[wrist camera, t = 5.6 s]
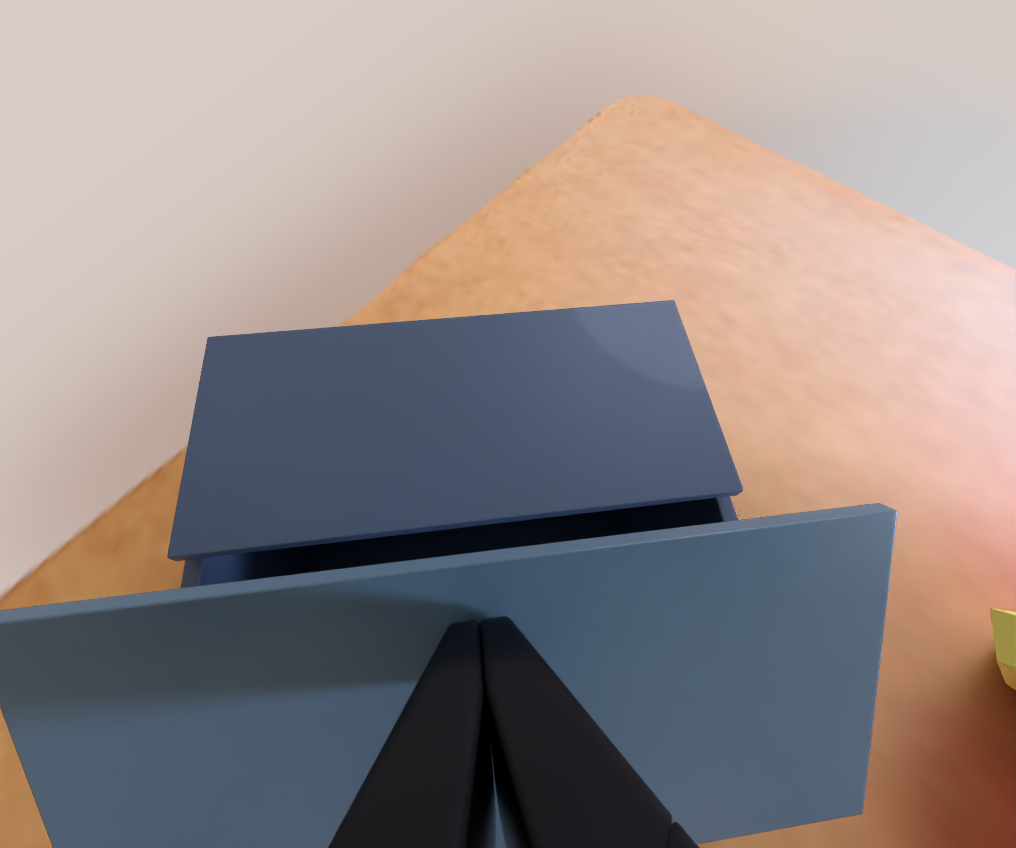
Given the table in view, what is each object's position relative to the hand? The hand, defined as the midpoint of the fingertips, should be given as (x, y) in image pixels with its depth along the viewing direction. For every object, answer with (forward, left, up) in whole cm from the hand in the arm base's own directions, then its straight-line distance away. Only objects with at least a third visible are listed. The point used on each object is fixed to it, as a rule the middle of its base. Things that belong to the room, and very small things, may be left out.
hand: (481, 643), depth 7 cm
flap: (-1, 0, -1) cm, 2 cm away
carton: (+3, +1, -11) cm, 11 cm away
